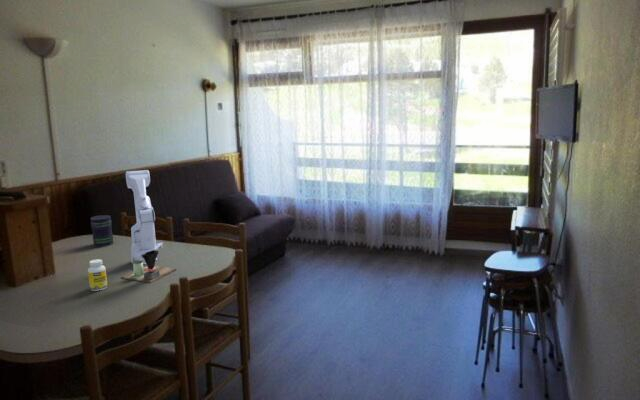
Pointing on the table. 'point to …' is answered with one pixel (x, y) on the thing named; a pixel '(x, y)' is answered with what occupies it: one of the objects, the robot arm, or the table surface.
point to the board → (162, 269)
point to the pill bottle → (97, 275)
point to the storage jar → (102, 230)
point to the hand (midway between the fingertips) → (151, 268)
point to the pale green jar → (138, 267)
